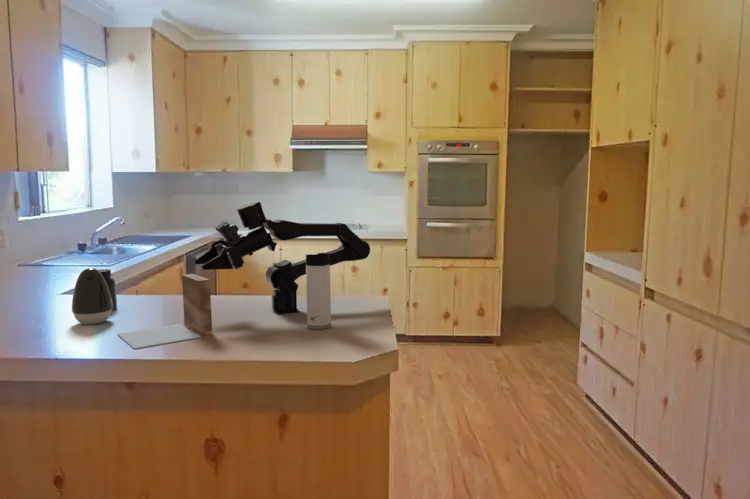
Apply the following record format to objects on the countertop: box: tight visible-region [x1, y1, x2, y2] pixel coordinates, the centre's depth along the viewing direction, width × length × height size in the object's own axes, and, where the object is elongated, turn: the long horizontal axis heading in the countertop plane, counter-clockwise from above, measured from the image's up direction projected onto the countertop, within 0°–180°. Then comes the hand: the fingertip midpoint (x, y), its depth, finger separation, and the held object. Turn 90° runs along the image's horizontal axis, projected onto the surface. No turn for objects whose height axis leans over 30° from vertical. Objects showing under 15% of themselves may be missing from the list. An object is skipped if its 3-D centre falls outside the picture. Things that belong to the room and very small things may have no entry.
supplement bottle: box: [97, 268, 118, 311], centre depth 178 cm, size 7×7×12 cm
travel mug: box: [305, 252, 332, 331], centre depth 154 cm, size 6×7×20 cm
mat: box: [116, 323, 203, 350], centre depth 147 cm, size 16×16×1 cm
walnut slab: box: [181, 273, 213, 337], centre depth 152 cm, size 3×12×14 cm, turn 37°
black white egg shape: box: [71, 267, 113, 326], centre depth 161 cm, size 10×10×15 cm
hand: (198, 265), depth 161 cm, fingers open, 9 cm apart
